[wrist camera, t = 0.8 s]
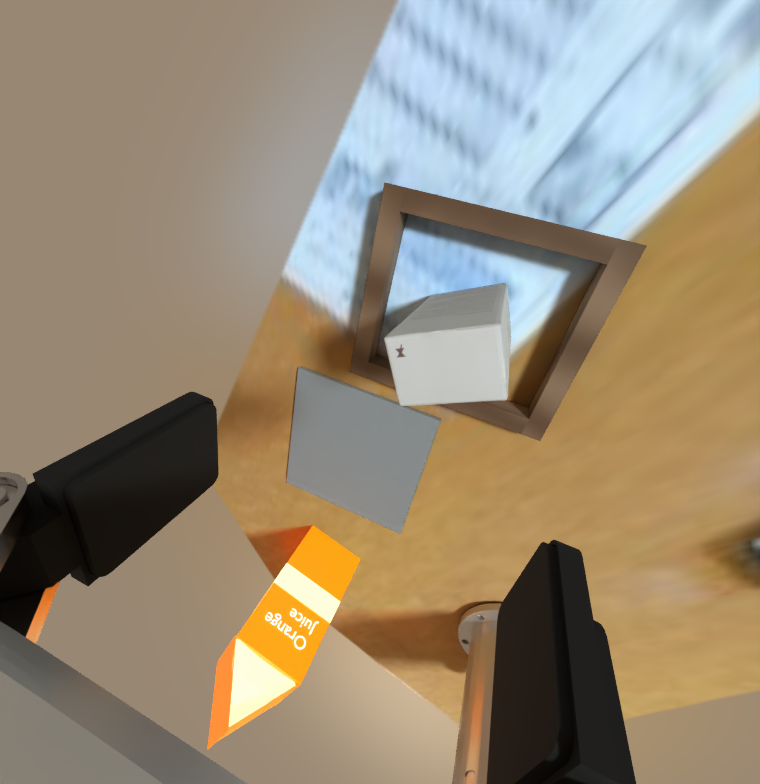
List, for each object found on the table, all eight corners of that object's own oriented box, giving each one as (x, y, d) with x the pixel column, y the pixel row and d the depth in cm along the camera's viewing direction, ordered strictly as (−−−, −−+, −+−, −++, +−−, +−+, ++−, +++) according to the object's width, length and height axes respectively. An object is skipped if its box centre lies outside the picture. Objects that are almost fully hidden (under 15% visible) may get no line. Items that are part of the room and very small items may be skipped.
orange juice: (361, 559, 46) (267, 759, 29) (334, 588, 51) (239, 775, 34) (311, 523, 46) (189, 700, 29) (289, 556, 51) (173, 724, 34)
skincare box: (438, 344, 31) (395, 408, 20) (429, 294, 29) (379, 335, 19) (514, 336, 28) (508, 403, 18) (509, 280, 27) (501, 320, 16)
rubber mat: (401, 531, 41) (400, 533, 41) (288, 480, 44) (286, 482, 44) (441, 418, 33) (440, 420, 33) (300, 366, 36) (298, 367, 36)
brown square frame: (539, 428, 31) (540, 440, 29) (358, 363, 34) (349, 371, 32) (637, 243, 23) (646, 245, 21) (393, 184, 27) (384, 182, 25)
